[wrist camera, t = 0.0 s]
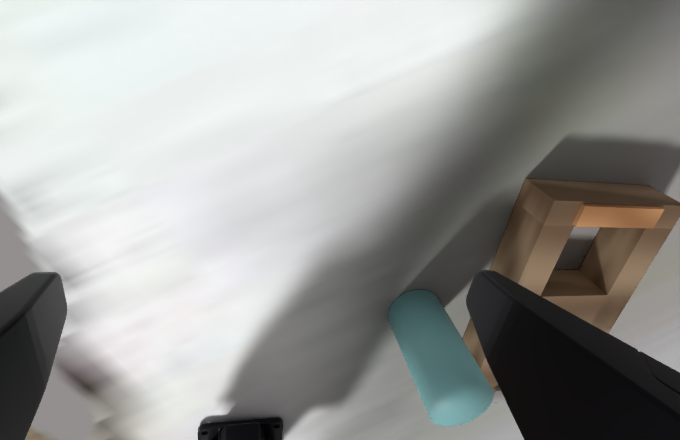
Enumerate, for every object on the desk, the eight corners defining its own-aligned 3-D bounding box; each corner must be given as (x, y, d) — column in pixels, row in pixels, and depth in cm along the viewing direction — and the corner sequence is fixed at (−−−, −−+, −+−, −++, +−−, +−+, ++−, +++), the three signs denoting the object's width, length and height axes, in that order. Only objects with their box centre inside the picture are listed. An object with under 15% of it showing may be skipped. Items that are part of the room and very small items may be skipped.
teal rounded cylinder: (431, 329, 33) (481, 423, 26) (382, 331, 32) (421, 429, 25) (445, 288, 31) (502, 378, 25) (393, 289, 30) (438, 383, 24)
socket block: (549, 365, 39) (573, 396, 36) (449, 372, 36) (467, 406, 34) (648, 185, 30) (690, 208, 27) (525, 178, 28) (557, 202, 25)
